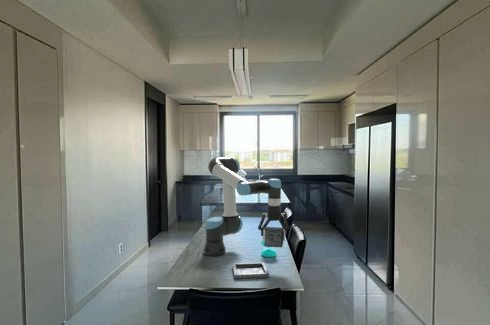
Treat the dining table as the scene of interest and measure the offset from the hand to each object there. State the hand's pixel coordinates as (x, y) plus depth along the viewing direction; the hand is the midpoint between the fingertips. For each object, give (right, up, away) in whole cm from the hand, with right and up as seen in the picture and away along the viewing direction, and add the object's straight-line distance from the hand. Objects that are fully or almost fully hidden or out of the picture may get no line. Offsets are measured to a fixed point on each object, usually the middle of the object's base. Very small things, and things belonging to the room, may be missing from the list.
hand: (273, 241), depth 192 cm
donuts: (-1, -15, +22) cm, 27 cm away
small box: (0, -3, 0) cm, 3 cm away
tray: (-14, -16, -7) cm, 23 cm away
